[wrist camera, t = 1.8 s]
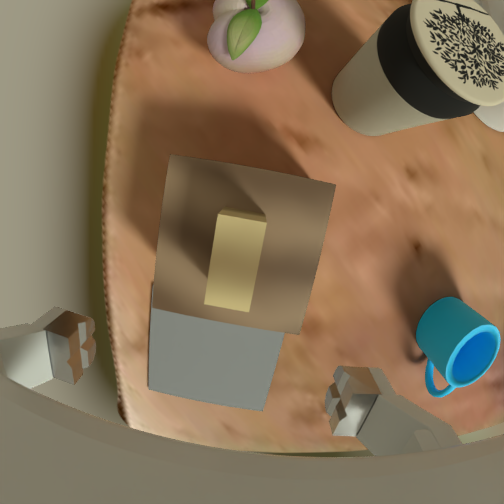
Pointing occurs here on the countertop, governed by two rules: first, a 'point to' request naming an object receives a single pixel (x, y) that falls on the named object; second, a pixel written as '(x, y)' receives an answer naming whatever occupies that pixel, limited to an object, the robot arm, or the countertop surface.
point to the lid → (239, 243)
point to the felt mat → (211, 360)
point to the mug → (456, 344)
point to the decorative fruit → (255, 33)
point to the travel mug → (422, 68)
